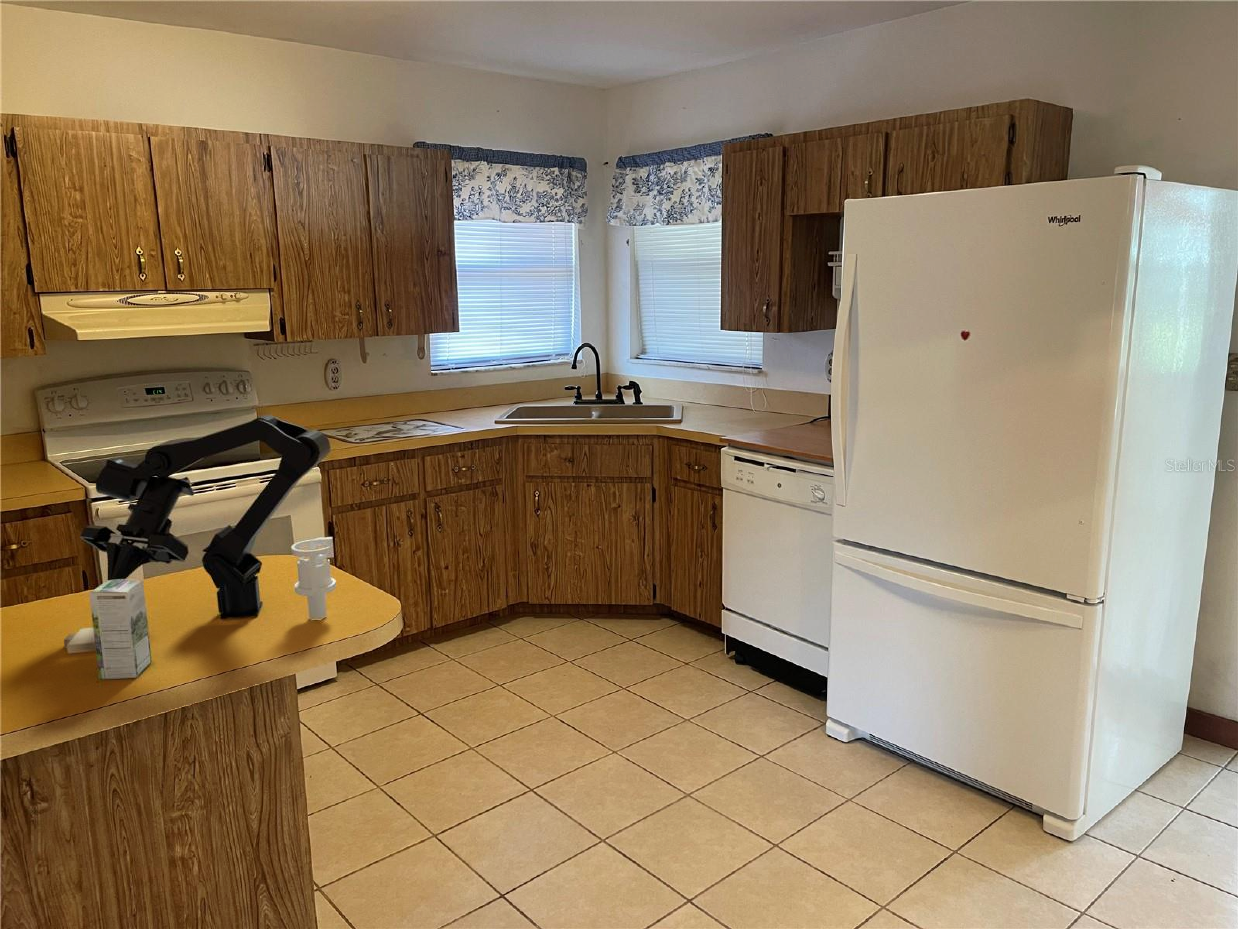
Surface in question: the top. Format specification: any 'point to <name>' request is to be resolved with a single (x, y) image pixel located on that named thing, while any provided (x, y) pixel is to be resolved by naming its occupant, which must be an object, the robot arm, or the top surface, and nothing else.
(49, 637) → the top surface
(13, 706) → the top surface
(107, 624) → the syrup box
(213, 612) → the top surface
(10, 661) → the top surface
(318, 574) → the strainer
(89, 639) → the cream flat tabbed slab
